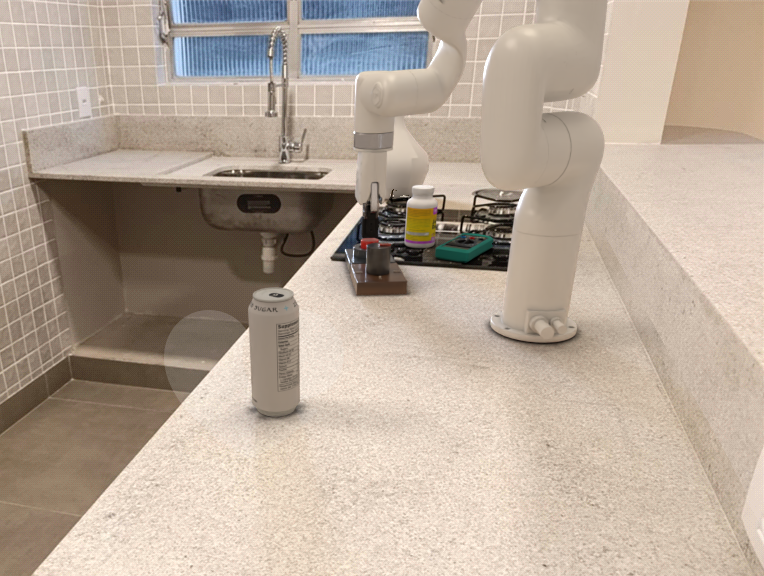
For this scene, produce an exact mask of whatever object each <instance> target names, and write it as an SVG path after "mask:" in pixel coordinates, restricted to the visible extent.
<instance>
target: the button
mask: <svg viewBox="0 0 764 576" xmlns="http://www.w3.org/2000/svg"><path fill="white" fill-rule="evenodd" d="M360 243H361V248H362V249H367V245H368V244H371V243H380V239H378V238H361V239H360Z"/></svg>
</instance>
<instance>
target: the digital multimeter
mask: <svg viewBox="0 0 764 576" xmlns="http://www.w3.org/2000/svg"><path fill="white" fill-rule="evenodd" d="M492 243H493V245H492ZM493 247H494V238H493V237H492V236H490V235H486V234H482V233H472V232H463V233H461V234H459V235H458V236H456V237H454V238H452V239H450V240H448V241H446V242H444V243H441V244H440V245H438V246H436V247H435V250H434V257H435V258H436V259H438V260H442V261H448V262H455V263H463V264H467V263H468V262H470V261H472V260H473V259H475V258H477V257H478V256H480V255H481V254H484V253H485V252H487V251H489V250H490V249H492V248H493Z"/></svg>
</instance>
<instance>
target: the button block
mask: <svg viewBox="0 0 764 576" xmlns="http://www.w3.org/2000/svg"><path fill="white" fill-rule="evenodd" d="M366 254H367V249H362V248H361V242H360V243H356V244H354V245H353V246H352V248H345V249H344V261H345V265H346V267H347V270H348V274H349V275H350V267H351V264H366ZM390 263H397V262H396V260H395V258H394V257H393V255H392V254H391V257H390Z"/></svg>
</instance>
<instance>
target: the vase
mask: <svg viewBox="0 0 764 576" xmlns="http://www.w3.org/2000/svg"><path fill="white" fill-rule="evenodd" d="M429 159H430V158H429V154H428V153H427V151H426V150H425V149H424V148H423V147H422V146H421V145H420V144H419V142H418V141H417V140H416V139H415V137H414V136H413V135H412V133H411V132H410V131H409V129H408V127H407V125H406V120H405V116H397V117H395V122H394V140H393V150H391V151H387V171H386V190H385V200H388V201H390V200H389V198H390V194H391V191H392V190H393V189H394V190H397V191H394V192H393V195H394V198H395V199H396V198H403V197H400V196H403V195H409V196H410V197H411V198H412V197H413V194H412V187H413V186H416V185H424V183H425V181H426V178H427V175H428V174H429V173H428V172H429V168H430V160H429Z"/></svg>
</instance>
